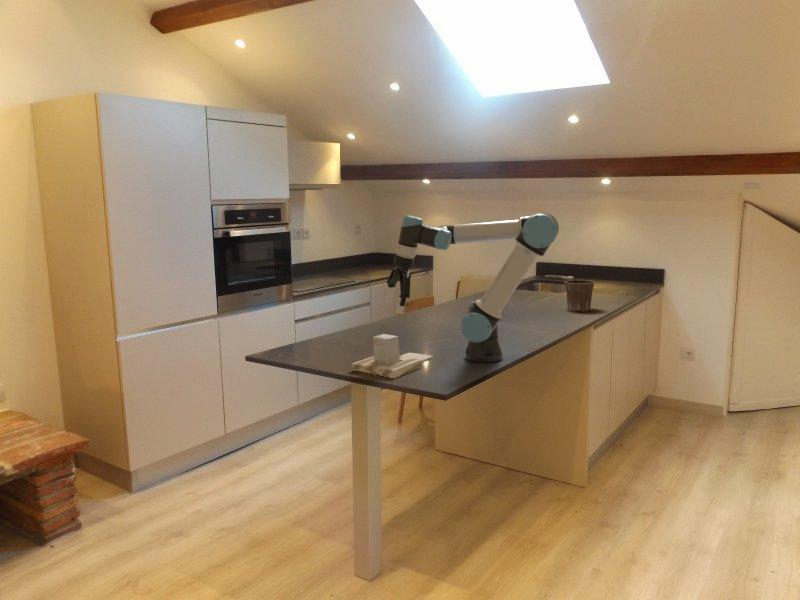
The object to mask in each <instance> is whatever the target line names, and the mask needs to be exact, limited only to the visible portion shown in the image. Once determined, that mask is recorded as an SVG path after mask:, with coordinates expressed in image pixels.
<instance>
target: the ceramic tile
mask: <svg viewBox="0 0 800 600" xmlns="http://www.w3.org/2000/svg"><path fill="white" fill-rule="evenodd" d="M400 356H401V357H407V358H414V359H420V360H422V363H425V362H426V360H427V361H429V360H432V359H433V358H434V355H429V354H424V353H415V352H407V353H404V354H402V355H400ZM431 358H432V359H431ZM428 359H429V360H428Z"/></svg>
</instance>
